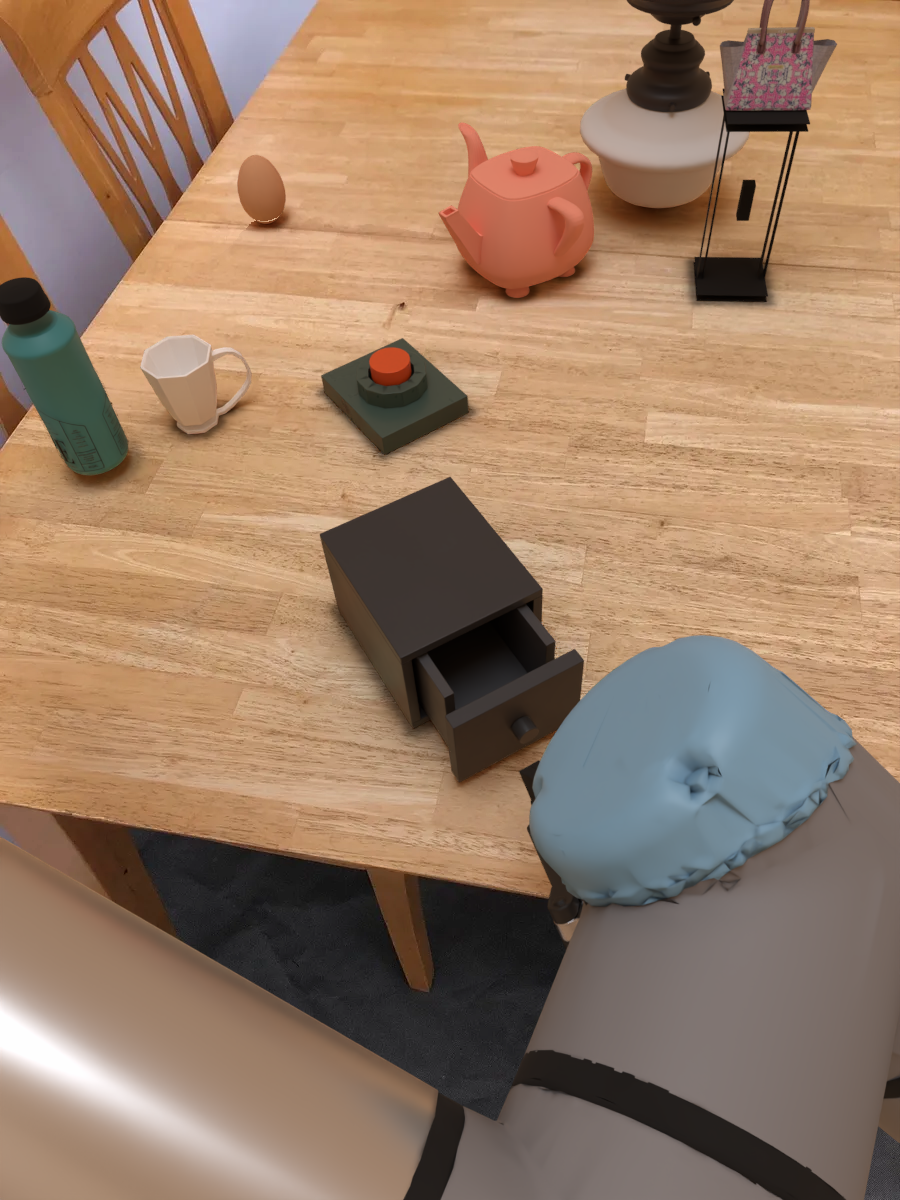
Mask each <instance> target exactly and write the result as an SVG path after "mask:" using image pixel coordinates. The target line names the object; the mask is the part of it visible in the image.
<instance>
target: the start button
mask: <svg viewBox="0 0 900 1200" xmlns="http://www.w3.org/2000/svg"><path fill="white" fill-rule="evenodd" d="M369 364H370V370H371V377H372V380H373V381H374V382H375V383H376V384H380V385H383V386H393V385H400V384H402V383H404V382H406V381H408V380H409V378H410V377H411V363H410V356H409V354H408V353H407V352H406V351H404V350H402V349H400V348H393V347H391V348H384V349H381V350H378V351H377V352H375V353H374V354H373V355H372V356H371V358H370V360H369Z"/></svg>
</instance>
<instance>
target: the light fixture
mask: <svg viewBox="0 0 900 1200" xmlns="http://www.w3.org/2000/svg"><path fill="white" fill-rule="evenodd" d="M734 1H735V0H626V2H627V3H628V4H629V5H630V6H631V7H632V8H634V9H635V10H637V11H639V12H643V13H646V14H649V15H651V17H653V18H654V20H656V21H657V22H659V23H662V24H665V25H670V27H669V29H664V30H661V31H660V32H658V33H657V34H656V35H655V36H654V38H652V39H650V40H649V41H648V42H647V43H646V44H645V45H644V46H643V47H642V48H641V50H640V58H641V61H642V64H643V66H641V67H639V68H637V69H636V70H634V71H632V73H631V74H630V73H626V74H625V75H624V81H626V86H625V88H623V89H620V90H616V91H613V92H611V93H609V94H607V95H605V96H603V97H601V98H599V99H597V100H596V101H595V102H593V103H592V104H591V105H590V106H589V107H588V108H587V109H586V110H585V111H584V113H583V114H582V117H581V119H580V122H579V134H580V136H581V140H582V142H583V143H584V144H585V146H586V147H587V148H588V150H589V151H591V153H593V154H595V155H596V156H597V157H598V161H599V164H600V169H601V171H602V172H601V173H602V175H603V179H604V181H605V184H606V186H607V187H608V189H609V190H610V191H611V193H612V194H614V195H615V196H616V197H618V198H619V199H621V200H623V201H624V202H626V203H628V204H631V205H635V206H639V207H643V208H650V209H667V208H674V207H675V208H676V207H680V206H683V205H686V204H689V203H692V202H693V201H695V200H697V199H698V198H700V197H701V196H702V195H703V194H705V193H706V192H707V191H708V190H709V188H710V186H712V180H713V174H714V168H715V162H716V157H717V151H718V145H719V139H720V133H721V128H722V122H723V116H724V111H723V104H722V97H721V96H723V94H720V93H718V92H716V91H712V89H713V84H712V78H711V77H710V76H711V74H710V72H709V71H705V70H704V69H702V68H701V67H700V65H702V63H703V61H704V59H705V57H706V56H705V55H706V50H705V48H704V47H703V45H702V44H701V43H700V42H699V41H698V40H697V39H696V38H695V34H693V33H692V32H690V31H688V30H684V29H682V26H683V25H690V24H692V25H693V26H694V27H698V26H699V25H701V23H702V18H703V17H704V16H706V15H710V14H713V13H714V14H715V13H718V12H721V11H722V10H725V9H726V8H727V7H729V6H730V5H731V4H732V3H733V2H734ZM750 134H751V132H730V133H729V139H728V144H727V150H726V155H725V161H727V160H729V159H732V158H733V157H734V156H735V155H737V153H739V152H740V151H741V150H742V149H743V148H744V147H745V146H746V144H747V142H748V140H749V139H750ZM726 137H727V132H726V126H725V123H724V129H723V135H722V140H721V146H720V152H719V158H718V163H717V169H716V175H715V177H717V175H718V173H719V171H720V170H721V165H722V159H723V154H724V148H725V142H726Z"/></svg>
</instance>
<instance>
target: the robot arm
mask: <svg viewBox="0 0 900 1200" xmlns="http://www.w3.org/2000/svg"><path fill="white" fill-rule="evenodd" d="M518 773H519V776H520V778H521V780H522V782H523V785H524V787H525V789H526V792H527V794H528V796H529V798H530V808H529V814H528V819H529V820H528V825H527V826H526V830H527V833H528V835H529V837H530V840H531V843H532V845H533V847H534V850H535V851H536V854H537V856H538V859H539V861H540V863H541V866H542V868H543V870H544V872H545V875H546V876H547V879H548V881H549V883H550V886H551V887H550V891H549V896H548V900H547V910H548V912H549V914H550V917H551V919H552V922H553V923H554V925H555V928H556V930H557V933H558V935H559V937H560V940H561V942H562V944H563V947H564V949H565V953H564V954H563V958H562V960H561V962H560V965H559V967H558V970H557V972H556V975H555V978H554V980H553V982H552V985H551V987H550V990H549V992H548V994H547V997H546V1000H545V1002H544V1005H543V1007H542V1009H541V1013H540V1015H539V1017H538V1019H537V1023H536V1025H535V1027H534V1029H533V1032H532V1035H531V1037H530V1039H529V1042H528V1045H527V1047H526V1050H525V1052H524V1055H523V1056H522V1058H521V1061H520V1063H519V1066H518V1069H517V1071H516V1074H515V1076H514V1078H513V1081H512V1084H511V1085H510V1088H509V1091H508V1094H507V1095H506V1098H505V1101H504V1102H503V1105H502V1107H501V1110H500V1111H499V1114H498V1116H497V1118H496V1120H494V1119H492V1118H489V1117H487V1116H485V1115H483V1114H482V1113H479V1112H478V1111H475V1110H472V1109H470V1108H469V1107H467V1106H465V1105H463V1104H461V1103H459V1102H456V1101H455V1100H453V1099H451V1098H450V1097H448V1096H446V1095H444V1094H442V1093H441V1092H439V1089H437V1088H435V1087H433V1086H432V1085H430V1084H428V1083H427V1082H425V1081H424V1080H421V1079H419V1077H416V1076H415V1075H413V1074H411V1073H409V1072H408V1071H406V1070H404V1069H402V1068H401V1067H399V1066H397V1065H396V1064H394V1063H392V1062H390V1061H389V1060H387V1059H385V1058H383V1057H381V1056H380V1055H379V1054H377V1053H375V1052H373V1051H371V1050H370V1049H368V1048H366V1047H364V1046H363V1045H362V1044H359V1043H358V1042H356V1041H354V1040H352V1039H351V1038H349V1037H347V1036H345V1035H344V1034H342V1033H341V1032H339V1031H337V1030H335V1029H334V1028H331V1027H330V1026H328V1025H327V1024H325V1023H323V1022H321V1021H320V1020H318V1019H316V1018H314V1017H313V1016H311V1015H309V1014H307V1012H304V1011H303V1010H301V1009H300V1008H297V1007H295V1006H294V1005H292V1004H290V1003H289V1002H287V1001H286V1000H283V999H281V998H280V997H279V996H276V995H275V994H274V993H271V992H270V991H268V990H267V989H265V988H263V987H261V986H259V985H258V984H256V983H254V982H253V981H250V980H249V979H247V978H245V977H244V976H242V975H240V974H239V973H236V972H235V971H234V970H232V969H230V968H228V967H227V966H225V965H223V964H221V963H219V962H218V961H217V960H214V959H213V958H210V957H209V956H208V955H206V954H204V953H202V952H200V950H197V949H195V948H194V947H192V946H190V945H188V944H187V943H185V942H184V941H182V940H180V939H179V938H176V937H175V936H173V935H172V934H169V933H168V932H166V931H164V930H163V929H161V928H159V927H157V926H156V925H154V924H152V923H151V922H149V921H147V920H145V919H144V918H142V917H140V916H138V915H137V914H135V913H134V912H132V911H130V910H128V909H127V908H124V907H123V906H121V905H119V904H118V903H115V901H113V900H111V899H109V898H107V897H106V896H104V895H102V894H100V893H98V892H97V891H95V890H94V889H92V888H90V887H88V886H87V885H85V884H83V883H81V882H80V881H78V880H76V879H74V878H73V877H71V876H70V875H68V874H66V873H64V872H63V871H61V870H60V869H57V868H56V867H54V866H52V865H51V864H50V863H49V864H48V863H47V862H45V861H43V860H41V859H40V858H38V857H37V856H35V855H34V854H31V853H29V852H28V851H26V850H24V849H23V848H21V847H19V846H18V845H16V844H15V843H12V842H11V841H10V840H7V839H5V838H3V837H2V836H0V1200H865V1197H866V1191H867V1186H868V1181H869V1177H870V1176H869V1175H870V1170H871V1166H872V1160H873V1155H874V1149H875V1145H876V1141H877V1133H878V1129H879V1128H880V1129H881V1130H882V1131H883V1132H884V1133H886V1134H887V1135H888V1136H889V1137H891V1138H892V1139H893V1140H895V1141H896V1142H897V1143H899V1144H900V781H899V780H897V779H896V777H894V775H892V774H891V773H890V772H889V770H887V769H886V767H884V766H883V765H882V764H881V763H880V761H878V760H877V759H876V758H875V757H874V756H873V755H872V754H871V753H870V752H869V751H868V750H867V749H866V748H865V747H864V746H863V745H862V744H861V743H860V742H859V741H858V740H857V739H856V738H855V737H854V736H853V729H852V728H851V727H850V725H849V724H848V722H846V720H845V719H843V718H842V717H841V716H840V715H838V714H835V713H833V712H830V711H829V710H827V708H825V707H824V706H822V705H821V703H819V702H818V701H817V700H816V699H815V698H813V697H812V696H811V695H810V694H809V693H808V692H806V690H804V689H803V688H802V687H801V686H800V685H799V684H797V683H796V682H795V681H794V680H793V679H792V678H790V676H788V675H787V674H786V673H784V672H783V671H782V670H780V669H779V668H777V667H774V666H773V665H771V663H769V662H768V661H767V660H765V659H764V658H763V657H762V656H760V655H759V654H758V653H756V652H755V651H754V650H752V649H750V648H749V647H747V646H746V645H744V644H742V643H740V642H739V641H736V640H734V639H730V638H726V637H723V636H716V635H706V634H699V635H697V634H696V635H695V634H694V635H688V636H684V637H683V636H682V637H678V638H676V639H674V640H672V641H671V642H669V643H667V644H664V645H662V646H653V647H649V648H647V649H645V650H643V651H640V652H639V653H637V654H634V656H632V657H630V658H628V659H627V660H625V661H624V662H622V663H620V664H619V665H618V666H617V667H615V668H614V669H612V670H611V671H610V672H608V673H607V674H606V675H605V676H604V677H603V678H601V679H600V680H599V681H597V683H596V684H595V685H594V686H592V688H590V690H588V691H587V692H586V694H584V696H582V697H581V698H580V701H579V702H578V703H577V705H576V706H575V707H574V708H573V709H572V711H571V712H570V713H569V714H568V716H567V717H566V718H565V720H564V721H563V723H562V724H561V725H560V727H559V729H558V730H556V731H555V733H554V735H553V736H552V737H551V740H550V741H549V743H548V744H547V746H546V748H545V750H544V752H543V754H542V756H541V758H540V759H539V760H536V761H535V762H533V763H531V764H529V765H527V766H526V767H524V768H522V769H520V770H518Z"/></svg>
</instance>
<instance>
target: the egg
mask: <svg viewBox="0 0 900 1200" xmlns="http://www.w3.org/2000/svg"><path fill="white" fill-rule="evenodd" d="M237 175H238V176H237V182H236V183H237V187H236V188H237V195H238V198H239V202H240V204H241V206H242V209H243V210H244V212H245V213H246V214H247V215H248V216H249V217H250V218H251V219H252V220H254V219H255V220H260V221H268V220H272V219H274V218H277V217H278V216H279V215H280V216H279V217H278V218H277V219H275V220H273V221H269V222H259V221H256V222H257V223H259V224H262V225H265V224H268V225H269V224H272V223H274V222H276V221H277V220H278V219H279V218H280V217H281V215H282V214H281V213H283V212H284V209H285V206H286V201H287V199H286V188H285V185H284V181H283V178H282V175H281V174H280V172H279V171H278V170H277V168H276V166H275V165H274V164H273V163H272V162H271V161H270V160H269V159H268V158H266V157H264V156H262V155H259V154H254V155H249V156H248V157H247V158H246V159H244V160H243V162H242V163H241V165H240V167H239V171H238V174H237ZM255 220H254V221H255Z"/></svg>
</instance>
